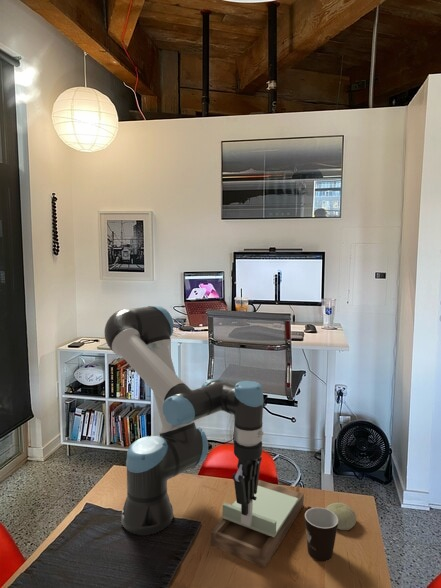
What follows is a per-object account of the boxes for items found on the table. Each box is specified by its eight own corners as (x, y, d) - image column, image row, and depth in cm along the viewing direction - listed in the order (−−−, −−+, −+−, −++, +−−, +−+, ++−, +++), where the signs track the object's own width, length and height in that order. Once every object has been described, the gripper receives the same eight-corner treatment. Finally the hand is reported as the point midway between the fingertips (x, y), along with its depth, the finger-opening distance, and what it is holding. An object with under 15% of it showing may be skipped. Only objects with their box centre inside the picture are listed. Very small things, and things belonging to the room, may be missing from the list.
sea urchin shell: (322, 524, 119) (325, 494, 124) (323, 530, 125) (326, 501, 130) (355, 531, 116) (357, 501, 121) (355, 537, 122) (357, 508, 127)
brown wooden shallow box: (210, 545, 113) (210, 531, 112) (257, 490, 139) (257, 479, 138) (264, 568, 105) (265, 553, 105) (303, 505, 131) (303, 493, 130)
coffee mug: (337, 567, 106) (339, 530, 105) (303, 561, 107) (304, 525, 106) (334, 536, 117) (336, 503, 116) (303, 532, 119) (304, 499, 118)
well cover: (222, 517, 118) (222, 504, 117) (251, 485, 134) (251, 473, 134) (274, 537, 110) (274, 523, 110) (298, 500, 126) (298, 488, 126)
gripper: (249, 454, 103) (247, 542, 106) (271, 434, 114) (269, 514, 117) (223, 446, 107) (222, 532, 109) (246, 428, 118) (245, 506, 120)
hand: (246, 523), depth 113 cm, fingers closed
